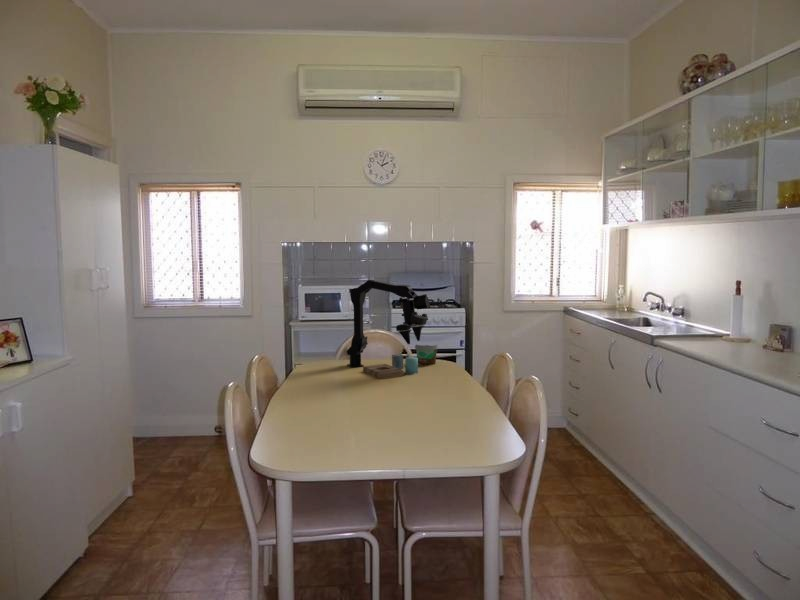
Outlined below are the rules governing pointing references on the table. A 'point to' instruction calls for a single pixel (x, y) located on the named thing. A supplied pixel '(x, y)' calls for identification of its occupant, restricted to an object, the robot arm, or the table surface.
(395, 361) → the square bit
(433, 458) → the table surface
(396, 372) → the bore block
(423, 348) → the food container
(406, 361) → the round bit
